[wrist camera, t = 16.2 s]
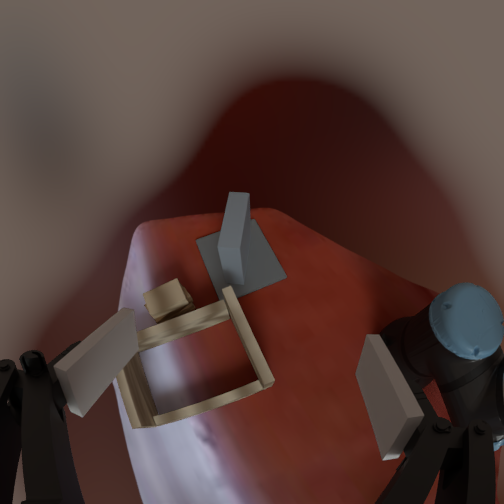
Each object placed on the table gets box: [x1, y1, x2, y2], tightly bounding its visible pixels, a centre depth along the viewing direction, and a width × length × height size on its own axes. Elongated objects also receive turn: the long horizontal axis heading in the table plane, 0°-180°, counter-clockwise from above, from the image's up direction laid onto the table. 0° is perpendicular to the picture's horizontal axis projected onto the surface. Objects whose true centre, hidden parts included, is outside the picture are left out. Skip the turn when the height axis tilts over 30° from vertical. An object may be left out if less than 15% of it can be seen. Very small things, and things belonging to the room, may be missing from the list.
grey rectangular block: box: [217, 192, 251, 285], centre depth 53 cm, size 4×12×13 cm, turn 174°
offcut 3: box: [156, 287, 196, 324], centre depth 53 cm, size 8×4×2 cm, turn 120°
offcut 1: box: [143, 278, 189, 319], centre depth 49 cm, size 7×4×2 cm, turn 118°
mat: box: [196, 219, 287, 303], centre depth 59 cm, size 14×16×1 cm
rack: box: [116, 286, 275, 429], centre depth 43 cm, size 23×16×10 cm
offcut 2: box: [144, 284, 193, 324], centre depth 51 cm, size 8×4×2 cm, turn 132°
